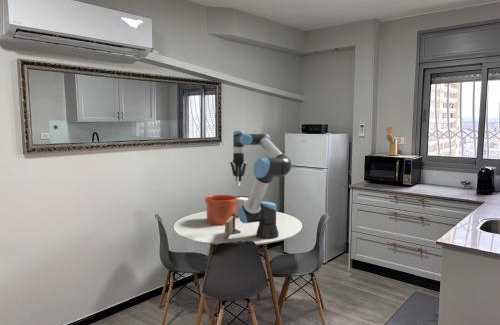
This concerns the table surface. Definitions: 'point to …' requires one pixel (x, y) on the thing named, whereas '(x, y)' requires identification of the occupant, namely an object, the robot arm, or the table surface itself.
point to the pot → (219, 208)
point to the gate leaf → (228, 227)
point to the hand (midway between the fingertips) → (238, 185)
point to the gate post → (234, 224)
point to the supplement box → (239, 204)
